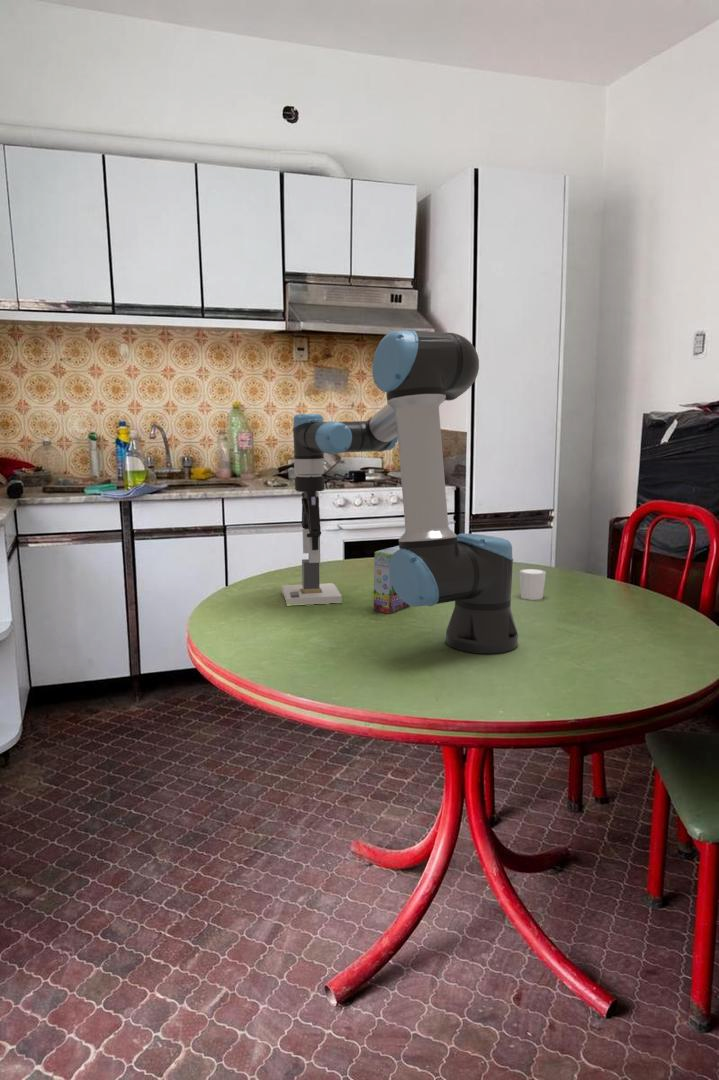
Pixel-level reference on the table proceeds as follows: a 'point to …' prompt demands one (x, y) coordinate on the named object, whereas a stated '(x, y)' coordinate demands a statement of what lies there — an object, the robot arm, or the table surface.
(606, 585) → the table surface
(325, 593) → the socket plate
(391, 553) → the snack box
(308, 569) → the plug
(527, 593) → the white cup
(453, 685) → the table surface
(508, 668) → the table surface
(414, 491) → the robot arm
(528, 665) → the table surface
